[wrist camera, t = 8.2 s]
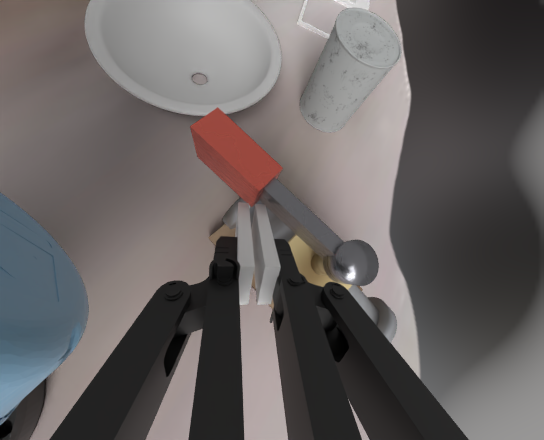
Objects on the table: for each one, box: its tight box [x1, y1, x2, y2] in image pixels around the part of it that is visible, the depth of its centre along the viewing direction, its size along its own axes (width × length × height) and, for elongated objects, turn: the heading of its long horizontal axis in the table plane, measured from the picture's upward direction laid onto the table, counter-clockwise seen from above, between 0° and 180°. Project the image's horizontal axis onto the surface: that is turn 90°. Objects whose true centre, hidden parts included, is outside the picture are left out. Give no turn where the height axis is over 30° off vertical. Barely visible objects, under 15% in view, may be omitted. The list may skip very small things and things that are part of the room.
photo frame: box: [297, 0, 370, 39], centre depth 44 cm, size 15×1×18 cm
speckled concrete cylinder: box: [300, 7, 402, 132], centre depth 31 cm, size 10×10×12 cm
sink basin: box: [85, 0, 282, 116], centre depth 29 cm, size 24×24×7 cm
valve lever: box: [190, 107, 379, 286], centre depth 15 cm, size 3×16×4 cm, turn 49°
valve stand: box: [209, 197, 397, 343], centre depth 22 cm, size 20×11×13 cm, turn 44°
